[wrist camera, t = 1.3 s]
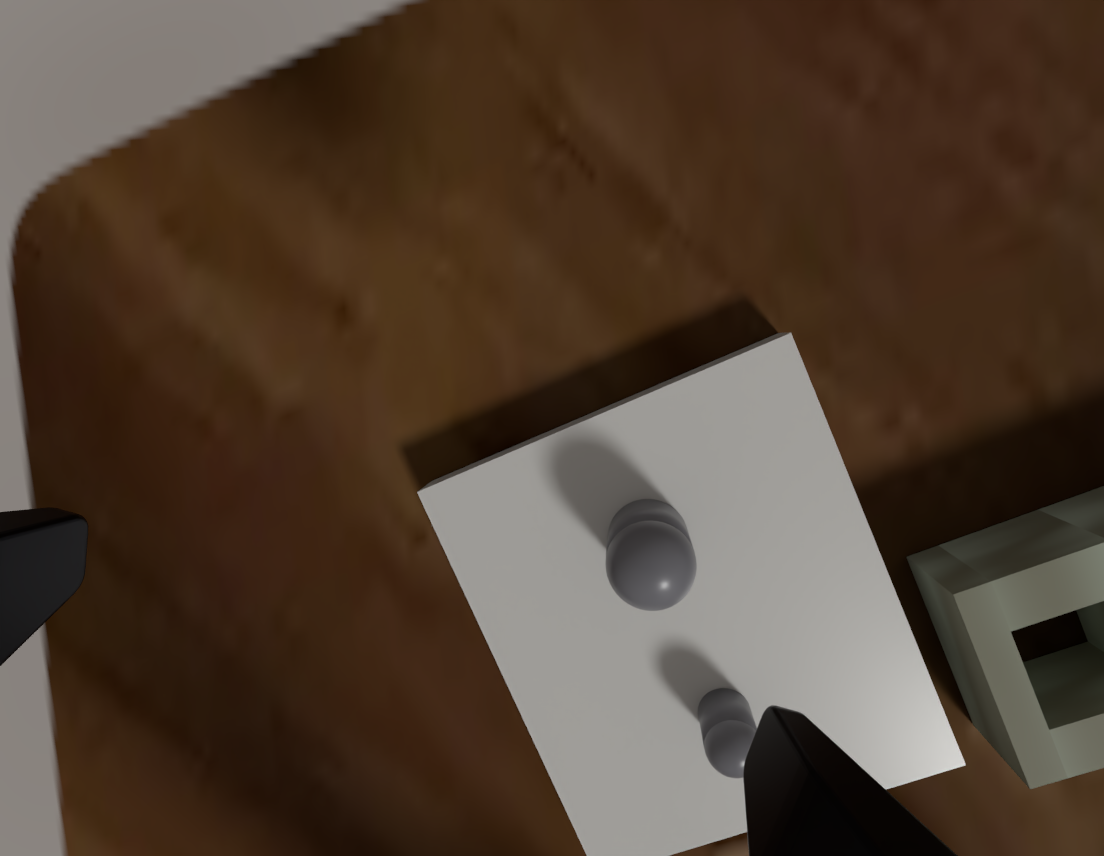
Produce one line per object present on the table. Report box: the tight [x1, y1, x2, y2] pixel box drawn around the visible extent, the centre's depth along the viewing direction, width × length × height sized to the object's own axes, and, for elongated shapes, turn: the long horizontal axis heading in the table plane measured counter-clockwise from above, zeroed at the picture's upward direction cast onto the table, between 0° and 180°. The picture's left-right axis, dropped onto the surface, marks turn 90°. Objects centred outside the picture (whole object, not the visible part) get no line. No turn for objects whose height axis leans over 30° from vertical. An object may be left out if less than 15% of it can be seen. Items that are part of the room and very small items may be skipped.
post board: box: [417, 333, 966, 856], centre depth 19 cm, size 14×12×5 cm
